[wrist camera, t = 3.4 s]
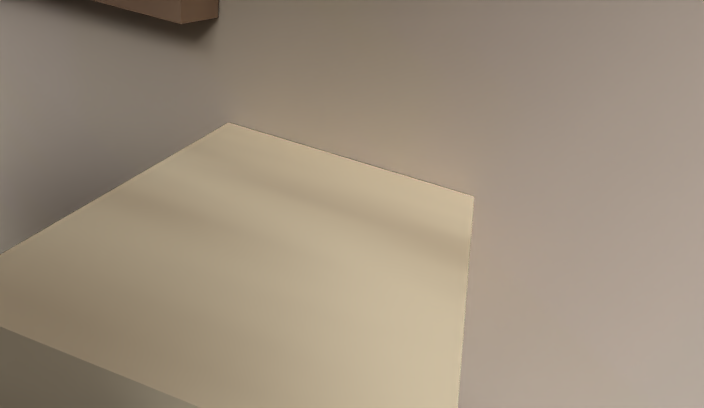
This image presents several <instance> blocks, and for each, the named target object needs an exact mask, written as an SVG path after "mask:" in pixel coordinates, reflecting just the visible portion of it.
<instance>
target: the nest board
mask: <svg viewBox="0 0 704 408" xmlns="http://www.w3.org/2000/svg"><path fill="white" fill-rule="evenodd" d="M92 1H96V2H99V3H103V4H107V5H111V6H115V7H118V8H122V9H126V10H130V11H133V12H137V13H141V14H145V15H148V16H152V17H156V18H160V19H163V20H167V21H171V22H175V23H179V24H184V23H190V22H196V21H202V20H207V19H213V18H218V2H219V0H92Z"/></svg>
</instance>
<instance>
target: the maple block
mask: <svg viewBox="0 0 704 408" xmlns="http://www.w3.org/2000/svg"><path fill="white" fill-rule="evenodd" d="M473 206H474V196H471V195H468V194H464V193H461V192H458V191H454V190H451V189H448V188H445V187H441V186H438V185H435V184H431V183H428V182H425V181H421V180H418V179H415V178H411V177H408V176H405V175H401V174H398V173H395V172H391V171H388V170H385V169H381V168H378V167H375V166H371V165H368V164H365V163H362V162H358V161H355V160H352V159H348V158H345V157H342V156H338V155H335V154H332V153H328V152H325V151H322V150H318V149H315V148H312V147H308V146H305V145H302V144H298V143H295V142H292V141H289V140H285V139H282V138H279V137H275V136H272V135H269V134H265V133H262V132H259V131H255V130H252V129H249V128H245V127H242V126H239V125H235V124H232V123H227V124H225V125H223V126H222V127H220V128H218V129H216V130H215V131H213V132H211V133H210V134H208V135H206V136H204V137H203V138H201V139H199V140H197V141H196V142H194V143H192V144H191V145H189V146H187V147H185V148H184V149H182V150H180V151H178V152H177V153H175V154H173V155H172V156H170V157H168V158H166V159H165V160H163V161H161V162H159V163H158V164H156V165H154V166H152V167H151V168H149V169H147V170H146V171H144V172H142V173H140V174H139V175H137V176H135V177H133V178H132V179H130V180H128V181H127V182H125V183H123V184H121V185H120V186H118V187H116V188H114V189H113V190H111V191H109V192H108V193H106V194H104V195H102V196H101V197H99V198H97V199H95V200H94V201H92V202H90V203H89V204H87V205H85V206H83V207H82V208H80V209H78V210H76V211H75V212H73V213H71V214H70V215H68V216H66V217H64V218H63V219H61V220H59V221H57V222H56V223H54V224H52V225H51V226H49V227H47V228H45V229H44V230H42V231H40V232H38V233H37V234H35V235H33V236H32V237H30V238H28V239H26V240H25V241H23V242H21V243H19V244H18V245H16V246H14V247H12V248H11V249H9V250H7V251H6V252H4V253H2V254H0V408H458V398H459V385H460V373H461V360H462V347H463V334H464V321H465V308H466V296H467V283H468V270H469V257H470V244H471V231H472V218H473Z"/></svg>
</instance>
